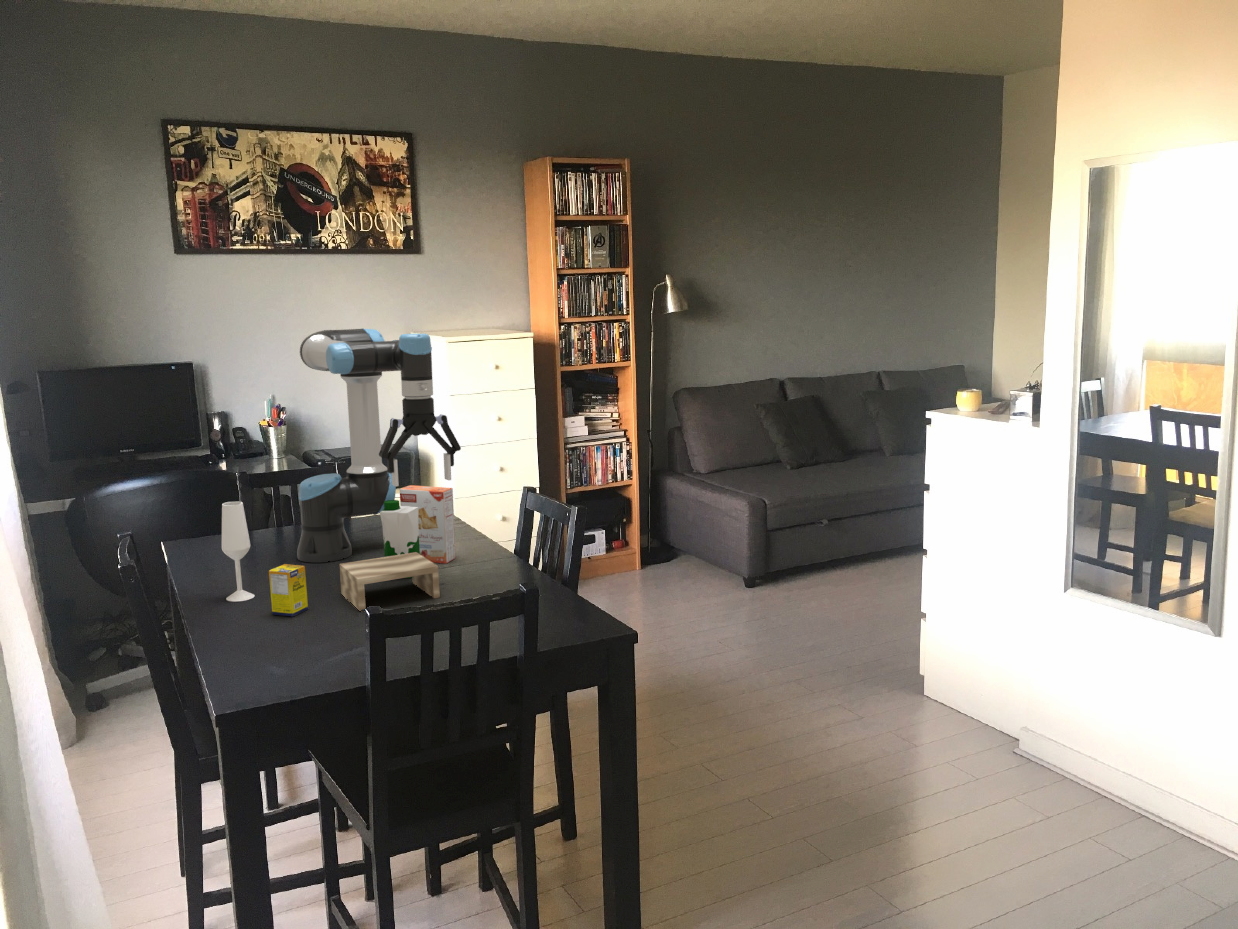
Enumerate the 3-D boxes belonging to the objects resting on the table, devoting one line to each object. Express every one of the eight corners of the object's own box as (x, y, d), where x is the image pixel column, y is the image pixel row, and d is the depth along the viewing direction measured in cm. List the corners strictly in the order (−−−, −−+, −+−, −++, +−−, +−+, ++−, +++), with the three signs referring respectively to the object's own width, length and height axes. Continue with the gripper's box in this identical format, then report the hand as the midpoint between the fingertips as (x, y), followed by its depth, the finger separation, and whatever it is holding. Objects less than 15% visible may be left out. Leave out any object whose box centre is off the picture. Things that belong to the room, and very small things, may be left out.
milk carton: (394, 569, 265) (390, 497, 262) (425, 570, 264) (421, 498, 260) (380, 578, 257) (376, 504, 254) (412, 579, 255) (408, 505, 252)
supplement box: (308, 609, 232) (305, 565, 230) (292, 617, 226) (289, 572, 225) (288, 607, 234) (284, 563, 232) (271, 615, 228) (268, 570, 227)
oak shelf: (341, 594, 243) (339, 563, 242) (418, 581, 253) (416, 552, 252) (359, 611, 230) (357, 579, 228) (439, 597, 240) (438, 566, 238)
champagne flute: (226, 595, 244) (218, 502, 240) (254, 592, 247) (247, 499, 242) (225, 602, 238) (217, 507, 234) (254, 599, 240) (246, 505, 236)
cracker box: (402, 560, 274) (398, 488, 270) (413, 555, 279) (409, 484, 276) (446, 564, 269) (442, 490, 266) (456, 559, 275) (453, 486, 271)
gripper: (372, 401, 227) (377, 490, 231) (471, 395, 240) (474, 479, 243) (362, 399, 234) (367, 485, 237) (459, 392, 246) (463, 474, 250)
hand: (422, 482), depth 240 cm, fingers open, 13 cm apart
